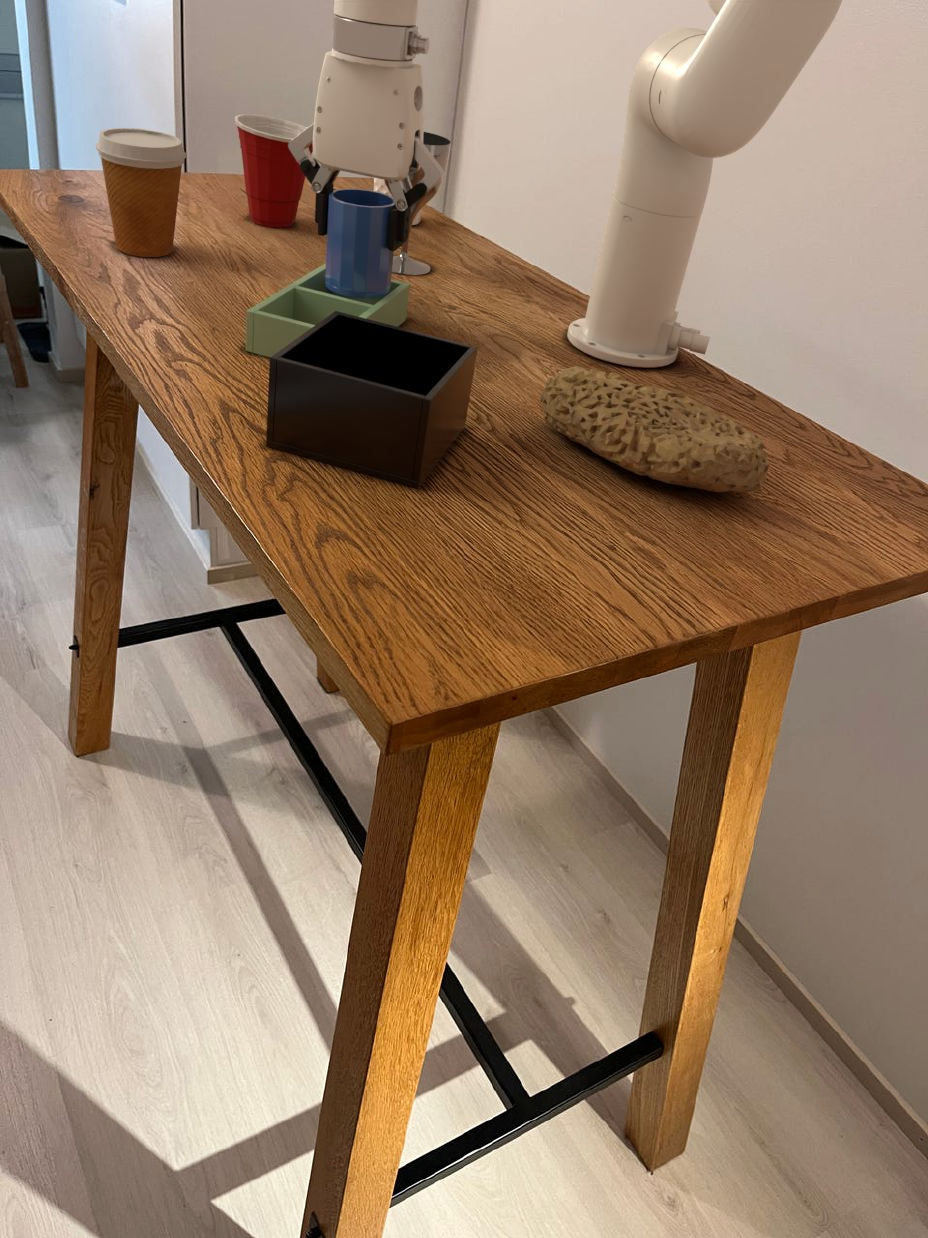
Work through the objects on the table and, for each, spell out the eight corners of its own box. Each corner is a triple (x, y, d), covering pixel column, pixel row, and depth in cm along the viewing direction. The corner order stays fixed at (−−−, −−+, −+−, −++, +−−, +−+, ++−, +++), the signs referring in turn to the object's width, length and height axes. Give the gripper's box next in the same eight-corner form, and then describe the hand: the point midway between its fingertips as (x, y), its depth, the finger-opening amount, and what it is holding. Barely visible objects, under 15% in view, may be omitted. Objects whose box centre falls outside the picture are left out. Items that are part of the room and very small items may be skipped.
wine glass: (386, 275, 123) (400, 143, 115) (361, 254, 129) (373, 126, 120) (444, 275, 127) (462, 147, 118) (417, 255, 132) (432, 130, 124)
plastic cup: (308, 239, 131) (315, 138, 124) (224, 225, 130) (226, 123, 123) (319, 217, 140) (326, 122, 133) (240, 204, 139) (243, 108, 132)
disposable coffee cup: (204, 253, 120) (204, 144, 113) (142, 267, 113) (138, 151, 106) (146, 231, 123) (143, 124, 116) (82, 243, 116) (75, 129, 109)
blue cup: (398, 285, 109) (406, 197, 104) (376, 303, 103) (383, 211, 98) (339, 272, 110) (344, 184, 105) (314, 289, 104) (318, 197, 99)
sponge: (519, 443, 93) (681, 504, 79) (536, 356, 91) (706, 404, 76) (618, 449, 101) (781, 505, 87) (636, 369, 99) (807, 414, 85)
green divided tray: (406, 319, 112) (410, 283, 110) (340, 376, 97) (343, 335, 94) (322, 298, 113) (325, 262, 111) (245, 350, 98) (246, 310, 96)
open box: (464, 427, 91) (478, 346, 87) (417, 488, 81) (430, 400, 76) (328, 391, 93) (335, 310, 89) (265, 446, 83) (269, 357, 78)
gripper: (474, 55, 95) (451, 248, 105) (303, 23, 98) (297, 215, 108) (450, 62, 89) (429, 267, 99) (269, 28, 92) (266, 231, 102)
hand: (360, 238), depth 104 cm, fingers closed on blue cup, 6 cm apart
